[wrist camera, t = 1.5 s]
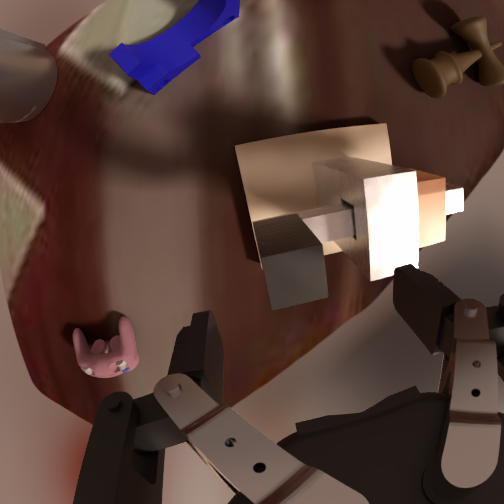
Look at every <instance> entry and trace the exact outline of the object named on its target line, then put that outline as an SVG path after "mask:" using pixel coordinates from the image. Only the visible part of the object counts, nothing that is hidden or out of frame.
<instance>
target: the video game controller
mask: <svg viewBox="0 0 504 504" xmlns="http://www.w3.org/2000/svg"><path fill="white" fill-rule="evenodd" d="M119 333H120V335H116V336H114V337H113V338H112V339H111V340H110V349H111V350H112V351H113V352H108V344H107V343H106V342H105V341H103V340H102V339H98V340H96V341H95V342H94V344H93V346H92V349H91V350H90V348H89V346H88V344H87V341H86V338H85V336H84V334H83V332H82V331H81V329H80V328H75V330H74V331H73V343H74V347H75V351H76V356H77V361H78V364H79V366H80V367H81V368H82V370H83V371H84V372H85V373H87V374H89V375H91V376H94V377H99V378H109V377H114V376H117V375H120V374H122V373H124V372H126V371H131V370H133V369H134V368H135V367H136V366H137V364H138V362H139V353H138V351H137V347H136V341H135V335H134V331H133V328H132V325H131V323H130V321H129V319H128V318H127V317H125V316H122V317H121V318H120V320H119ZM107 352H108V353H107Z"/></svg>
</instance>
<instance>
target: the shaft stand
mask: <svg viewBox="0 0 504 504" xmlns="http://www.w3.org/2000/svg"><path fill="white" fill-rule="evenodd" d="M235 150H236V155H237V159H238V163H239V168H240V172H241V177H242V181H243V186H244V190H245V195H246V199H247V204H248V208H249V213H250V217H251V222H253V221H257V220H262V219H266V218H271V217H276V216H280V215H285V214H290V213H294V212H299V211H304V210H309V209H314V208H319V207H324V206H329V205H334V204H339V203H344V202H348V203H350V204H351V205H353V206H354V214H355V225H356V235H355V236H351V237H347V238H342V239H338V240H333V241H329V242H324V243H322V244H323V252H324V255H327V254H331V253H336V252H340V251H343V252H344V253H345V254H346V255H347V256H348V257H349V258H350V259H351V260H352V261H353V262H354V264H355V265H356V266H357V267H358V268H359V269H360V270H361V271H362V272H363V274H364V275H365V276H366V277H367V278H368V279H369V280H370V281H374V280H378V279H381V278H385V277H388V276H392V275H394V269H395V268H396V267H399V266H403V265H406V264H412V265H414V266H415V267H416V268H418V238H419V225H418V192H417V177H416V171H414V170H410V169H406V168H402V167H398V166H393V165H392V161H391V153H390V145H389V138H388V131H387V125H386V124H371V125H360V126H350V127H342V128H333V129H326V130H318V131H311V132H305V133H298V134H292V135H286V136H281V137H275V138H270V139H264V140H259V141H254V142H249V143H245V144H240V145H235ZM252 226H253V224H252ZM253 231H254V228H253ZM254 235H255V233H254ZM255 240H256V237H255ZM256 244H257V242H256ZM257 249H258V247H257ZM258 254H259V251H258ZM259 258H260V255H259ZM260 263H261V259H260ZM261 267H262V264H261ZM262 269H263V268H262Z"/></svg>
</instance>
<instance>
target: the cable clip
mask: <svg viewBox="0 0 504 504" xmlns="http://www.w3.org/2000/svg"><path fill="white" fill-rule="evenodd" d="M239 6H240V0H199V1H198V3H197V4H196V5H195V6H194V8H193V9H192V10H191V11H190V12H189V13H188V14H187V15H186V16H185V17H184V18H183V19H181V20H180V21H179V22H178V23H177V24H175V25H174V26H173V27H171V28H170V29H169V30H167V31H166V32H164V33H162V34H161V35H159V36H157V37H155V38H153V39H151V40H149V41H147V42H144V43H141V44H137V45H125V44H123V43H121V44H120V45H119V46H118V47H116V48H115V49H114V50H113V51H112V52H111V53H110V54H109V55H110V56H111V58H112V59H113V60H114V61H115V62H116V63H117V64H118V65H119V66H120V67H121V68H122V70H123V71H124V72H125V73H126V74H127V75H129V76H130V77H132V78H134V79H136V80H137V81H138V82H139V83H140V84H141V85H142V86H143V87H144V88H145V89H146V90H147V91H148V92H150V93H152V94H154V95H155V94H156V93H157V92H158V91H159V90H161V89H162V88H163V87H164V86H165V85H166V84H168V83H169V82H170V81H171V80H172V79H174V78H175V77H176V76H177V75H179V74H180V73H181V72H182V71H184V70H185V69H186V68H187V67H189V66H190V65H191V64H193V63H194V62H195V61H197V60H198V59H199V58H201V57H200V54H199V53H198V52H197V51H196V50H195V49H194V48H193V47H194V46H195V45H197V44H198V43H200V42H201V41H202V40H204V39H205V38H207V37H208V36H210V35H211V34H213V33H214V32H216V31H217V30H219V29H220V28H222V27H223V26H225V25H226V24H228V23H229V22H231V21H233V20H234V19H236V18H238V17H239Z"/></svg>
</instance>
